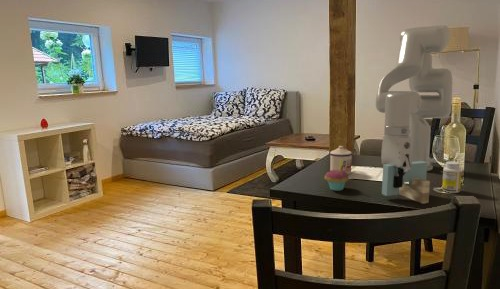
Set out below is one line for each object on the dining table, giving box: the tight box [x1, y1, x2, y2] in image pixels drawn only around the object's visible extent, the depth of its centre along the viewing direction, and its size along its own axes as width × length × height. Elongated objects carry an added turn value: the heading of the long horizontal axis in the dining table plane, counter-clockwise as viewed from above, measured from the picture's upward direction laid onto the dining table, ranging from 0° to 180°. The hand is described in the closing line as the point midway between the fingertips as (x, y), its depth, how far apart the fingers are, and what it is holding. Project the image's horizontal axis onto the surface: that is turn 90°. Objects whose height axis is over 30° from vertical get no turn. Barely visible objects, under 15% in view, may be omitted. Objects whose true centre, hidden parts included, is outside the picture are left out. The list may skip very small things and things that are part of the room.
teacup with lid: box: [329, 145, 353, 176], centre depth 157 cm, size 12×9×12 cm
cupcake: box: [324, 157, 349, 191], centre depth 135 cm, size 9×8×12 cm
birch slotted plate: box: [399, 178, 431, 205], centre depth 125 cm, size 16×2×7 cm, turn 19°
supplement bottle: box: [441, 160, 462, 194], centre depth 128 cm, size 6×6×10 cm
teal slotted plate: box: [381, 161, 428, 197], centre depth 124 cm, size 16×2×10 cm, turn 109°
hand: (394, 185), depth 123 cm, fingers closed on teal slotted plate, 2 cm apart
